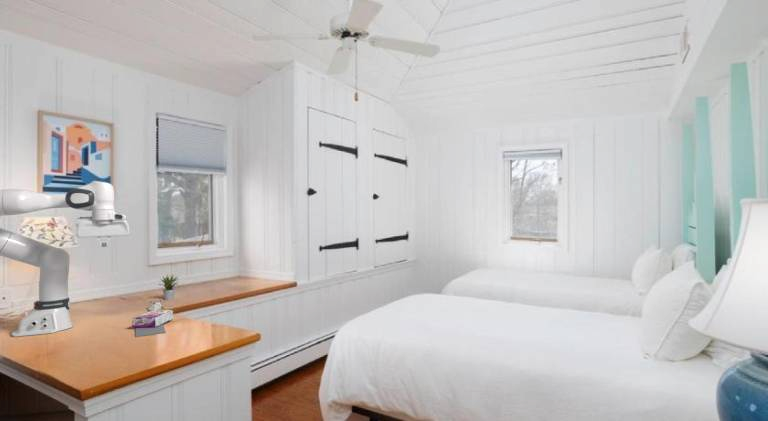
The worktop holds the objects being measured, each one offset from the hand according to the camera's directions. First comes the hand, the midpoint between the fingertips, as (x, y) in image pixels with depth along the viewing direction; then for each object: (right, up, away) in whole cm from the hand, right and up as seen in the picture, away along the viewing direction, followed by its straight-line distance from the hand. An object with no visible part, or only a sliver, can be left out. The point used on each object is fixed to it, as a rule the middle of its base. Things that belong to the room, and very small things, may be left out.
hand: (104, 246), depth 195 cm
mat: (+18, -39, +5) cm, 43 cm away
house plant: (-11, -41, +82) cm, 92 cm away
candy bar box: (+15, -36, +5) cm, 39 cm away
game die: (+6, -40, +32) cm, 52 cm away
